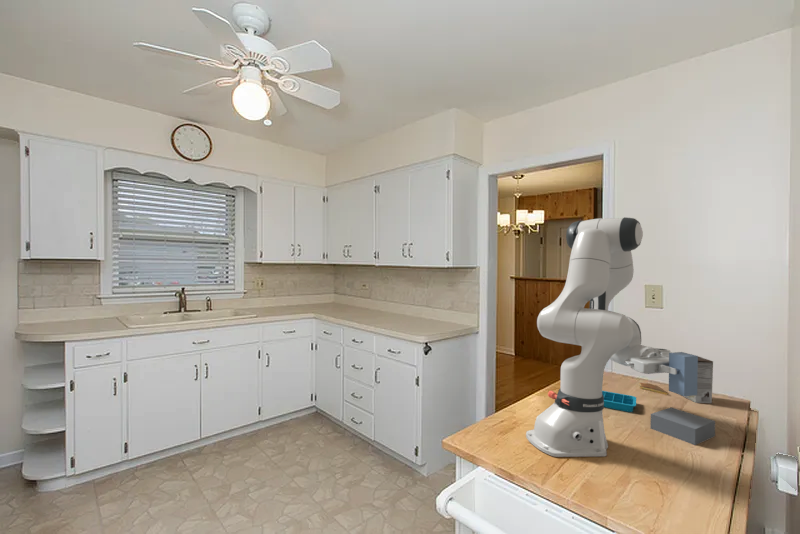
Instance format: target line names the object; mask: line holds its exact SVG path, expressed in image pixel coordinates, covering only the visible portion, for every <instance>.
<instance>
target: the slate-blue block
mask: <svg viewBox="0 0 800 534" xmlns="http://www.w3.org/2000/svg"><path fill="white" fill-rule="evenodd" d="M669 367H675V368H678V369H679V374H675V375H674V374H671V373H668V391H669V392H670V393H674V394H676V395H680V396H681V395H682V396H681V397H683V396H693V395H697V373H698V355H695V354H692V353H687V352H685V351H684V352H683V351H677V352H672V353H669Z"/></svg>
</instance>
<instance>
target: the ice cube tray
mask: <svg viewBox="0 0 800 534" xmlns="http://www.w3.org/2000/svg"><path fill="white" fill-rule="evenodd" d="M602 395H603V396H604V408H606V409H610V410H611V409H612V410H617V411H623V412H626V413H633V412H634V408H635V407H637V397H636V396H634V395H630V394H629V395H628V394H624V393H618V392H612V391H607V390H602Z"/></svg>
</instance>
